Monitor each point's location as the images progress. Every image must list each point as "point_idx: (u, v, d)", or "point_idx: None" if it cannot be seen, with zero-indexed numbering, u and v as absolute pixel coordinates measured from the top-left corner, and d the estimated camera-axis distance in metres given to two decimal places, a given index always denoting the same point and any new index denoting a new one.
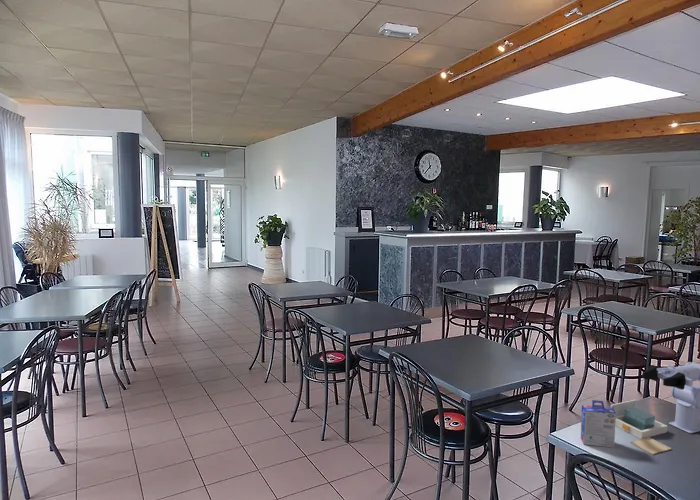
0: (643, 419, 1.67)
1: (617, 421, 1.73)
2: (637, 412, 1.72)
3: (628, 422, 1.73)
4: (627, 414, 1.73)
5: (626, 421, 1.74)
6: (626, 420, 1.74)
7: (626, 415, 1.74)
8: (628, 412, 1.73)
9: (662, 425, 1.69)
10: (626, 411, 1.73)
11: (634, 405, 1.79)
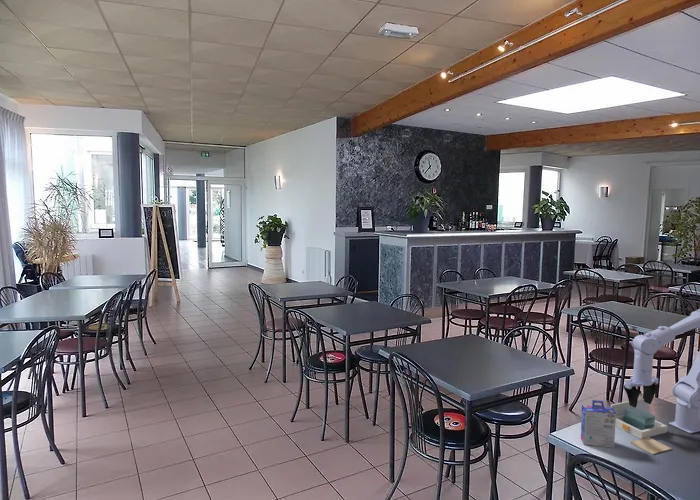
0: (643, 419, 1.67)
1: (617, 421, 1.73)
2: (637, 412, 1.72)
3: (628, 422, 1.73)
4: (627, 414, 1.73)
5: (626, 421, 1.74)
6: (626, 420, 1.74)
7: (626, 415, 1.74)
8: (628, 412, 1.73)
9: (662, 425, 1.69)
10: (626, 411, 1.73)
11: None
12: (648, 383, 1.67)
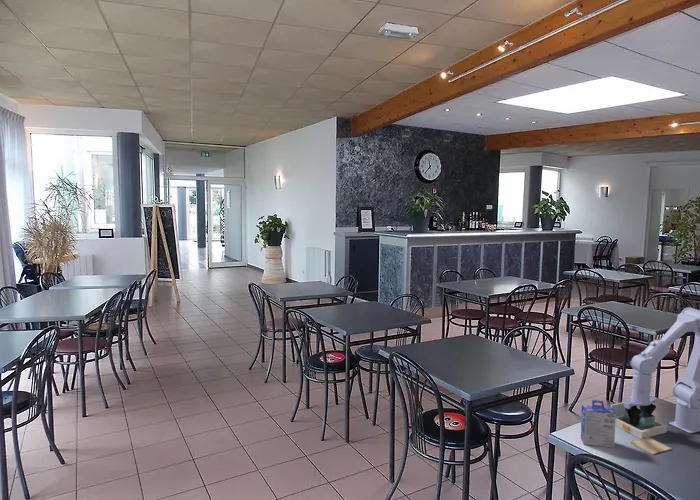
0: (643, 419, 1.67)
1: (617, 421, 1.73)
2: None
3: (628, 422, 1.73)
4: (627, 414, 1.73)
5: (626, 421, 1.74)
6: (626, 420, 1.74)
7: (626, 415, 1.73)
8: None
9: (662, 425, 1.69)
10: (626, 411, 1.73)
11: None
12: (647, 403, 1.68)
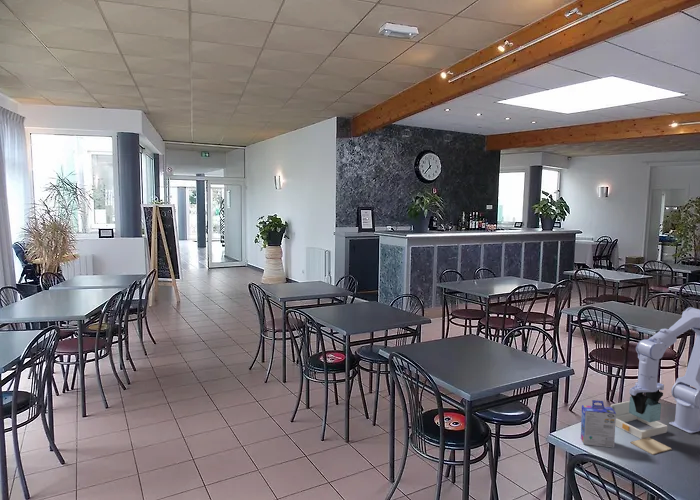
0: (649, 406, 1.61)
1: (617, 421, 1.73)
2: None
3: (633, 410, 1.67)
4: (632, 402, 1.67)
5: (631, 409, 1.68)
6: (631, 408, 1.68)
7: (631, 403, 1.68)
8: None
9: (662, 425, 1.69)
10: (631, 398, 1.68)
11: None
12: (653, 389, 1.62)
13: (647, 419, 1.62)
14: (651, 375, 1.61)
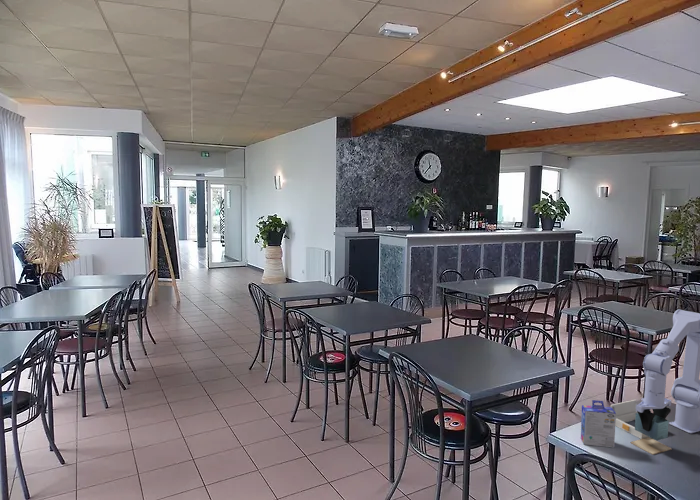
0: (656, 423, 1.54)
1: (617, 421, 1.73)
2: None
3: (639, 427, 1.60)
4: (638, 418, 1.60)
5: (637, 426, 1.61)
6: (637, 425, 1.61)
7: (637, 419, 1.61)
8: (639, 416, 1.60)
9: None
10: (637, 415, 1.61)
11: (634, 405, 1.79)
12: (661, 406, 1.55)
13: (654, 437, 1.55)
14: (661, 391, 1.54)
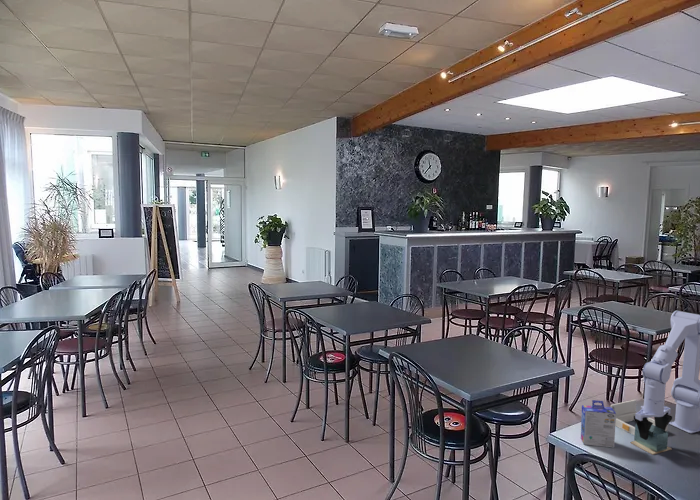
0: (655, 435, 1.55)
1: (617, 421, 1.73)
2: None
3: (639, 438, 1.60)
4: (637, 429, 1.61)
5: (637, 437, 1.61)
6: (637, 436, 1.61)
7: (637, 430, 1.61)
8: None
9: None
10: (637, 426, 1.61)
11: (634, 405, 1.79)
12: (660, 414, 1.55)
13: (653, 448, 1.56)
14: (660, 399, 1.54)
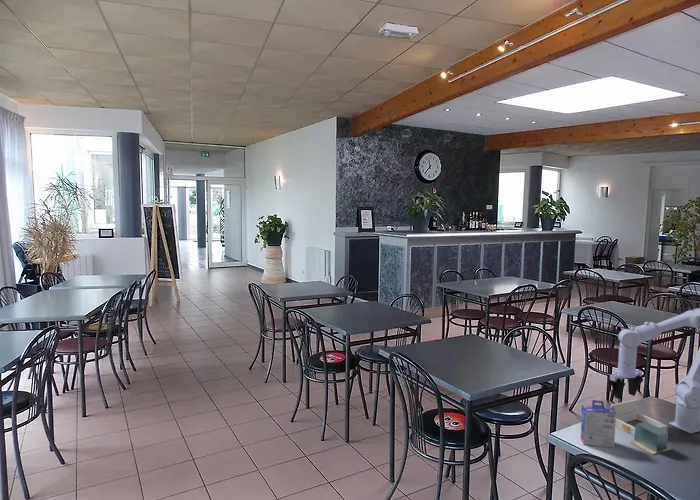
0: (655, 435, 1.55)
1: (617, 421, 1.73)
2: (649, 427, 1.59)
3: (639, 438, 1.60)
4: (637, 429, 1.61)
5: (637, 437, 1.61)
6: (637, 436, 1.61)
7: (637, 430, 1.61)
8: (639, 427, 1.60)
9: (662, 425, 1.69)
10: (637, 426, 1.61)
11: (634, 405, 1.79)
12: (632, 375, 1.73)
13: (653, 448, 1.56)
14: (625, 361, 1.73)
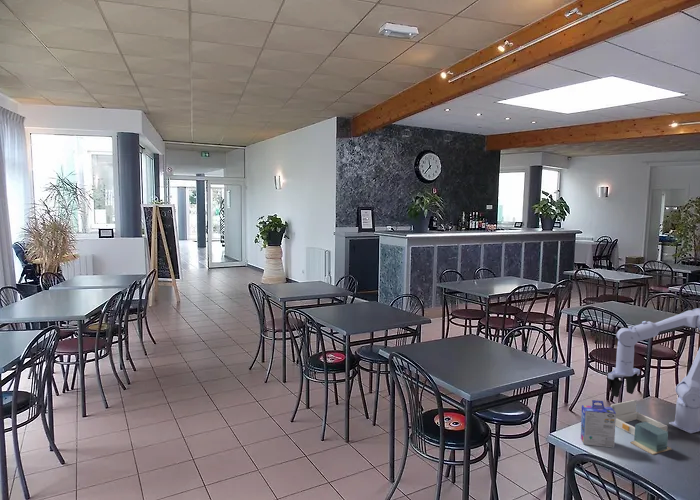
0: (655, 435, 1.55)
1: (617, 421, 1.73)
2: (649, 427, 1.59)
3: (639, 438, 1.60)
4: (637, 429, 1.61)
5: (637, 437, 1.61)
6: (637, 436, 1.61)
7: (637, 430, 1.61)
8: (639, 427, 1.60)
9: (662, 425, 1.69)
10: (637, 426, 1.61)
11: (634, 405, 1.79)
12: (630, 374, 1.75)
13: (653, 448, 1.56)
14: (622, 360, 1.75)
